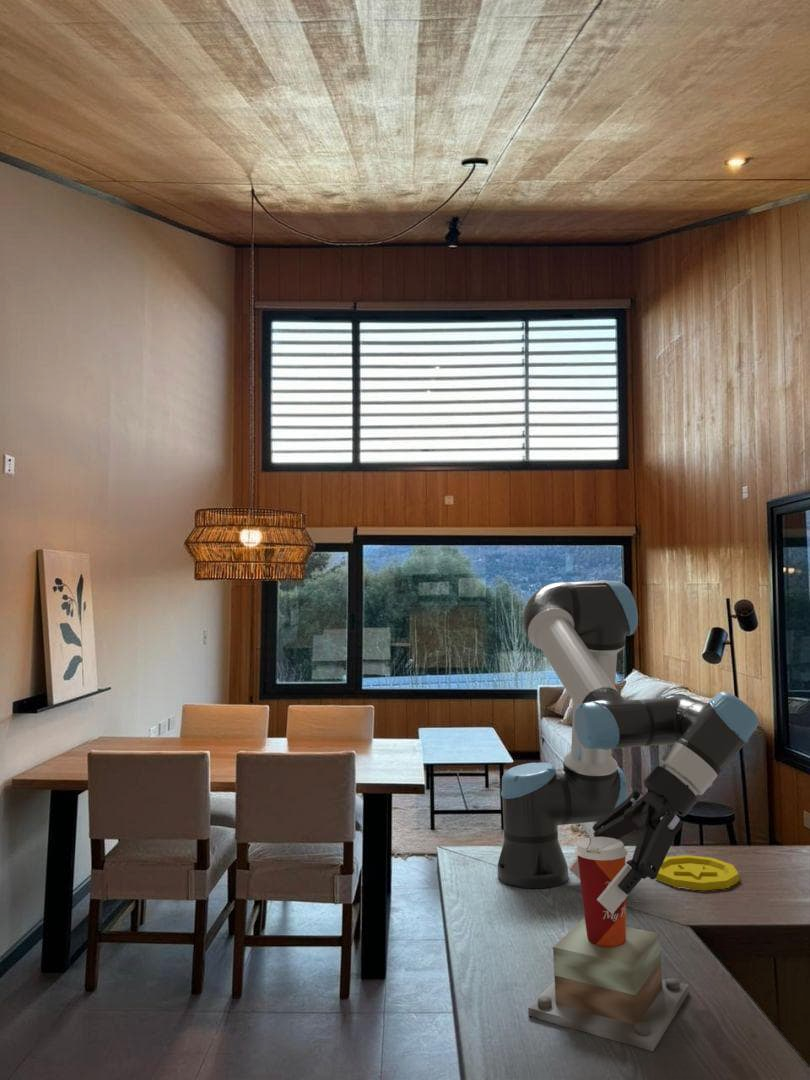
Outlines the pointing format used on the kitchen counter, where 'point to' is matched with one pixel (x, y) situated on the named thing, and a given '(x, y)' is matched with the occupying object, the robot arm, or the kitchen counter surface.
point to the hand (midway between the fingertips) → (588, 890)
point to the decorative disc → (697, 872)
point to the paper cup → (601, 888)
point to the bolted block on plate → (611, 989)
